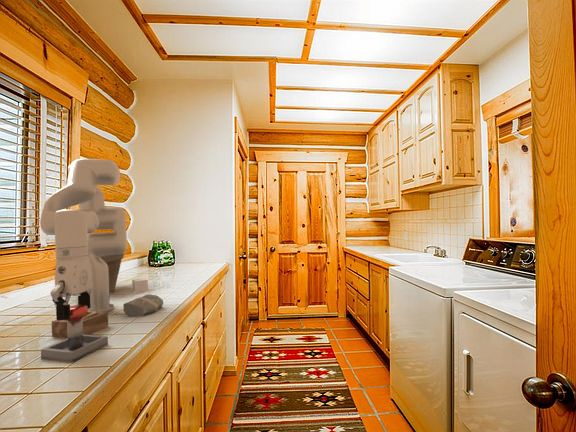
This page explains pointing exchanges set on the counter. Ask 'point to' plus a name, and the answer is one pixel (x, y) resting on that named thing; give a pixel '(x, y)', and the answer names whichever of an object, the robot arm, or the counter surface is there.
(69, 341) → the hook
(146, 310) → the decorative stone
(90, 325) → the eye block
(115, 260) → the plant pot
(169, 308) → the counter surface
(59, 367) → the counter surface
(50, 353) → the tray
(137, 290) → the pale pink cube
